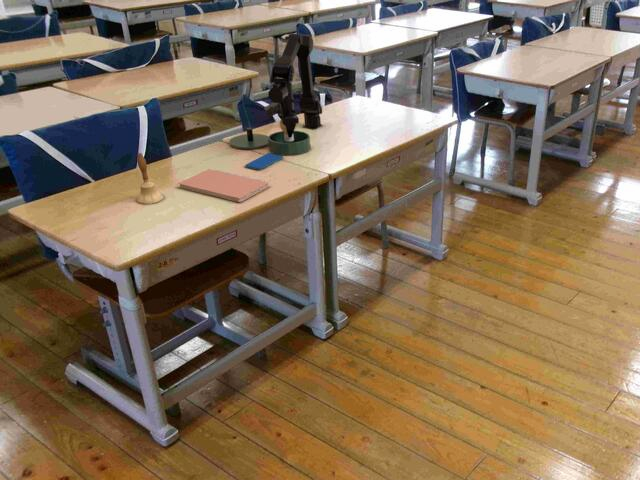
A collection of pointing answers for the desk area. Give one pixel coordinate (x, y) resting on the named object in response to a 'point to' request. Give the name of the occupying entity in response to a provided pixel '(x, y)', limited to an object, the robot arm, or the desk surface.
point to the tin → (289, 144)
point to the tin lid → (249, 140)
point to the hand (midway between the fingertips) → (288, 135)
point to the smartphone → (264, 161)
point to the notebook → (224, 185)
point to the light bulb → (286, 133)
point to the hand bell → (147, 185)
